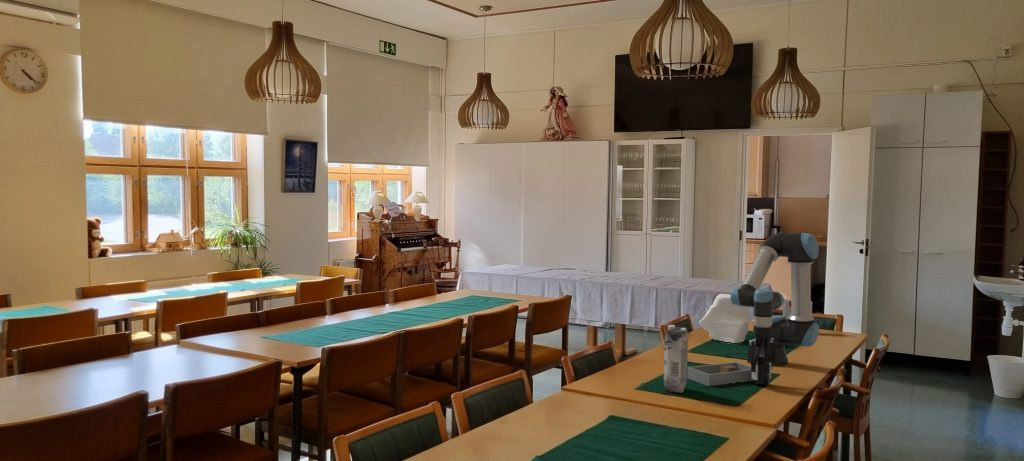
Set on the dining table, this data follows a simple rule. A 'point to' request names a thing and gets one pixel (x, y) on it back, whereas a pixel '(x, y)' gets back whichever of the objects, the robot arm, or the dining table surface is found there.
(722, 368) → the walnut cube
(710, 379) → the tote
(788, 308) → the hard drive box
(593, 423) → the dining table surface
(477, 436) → the dining table surface
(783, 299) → the robot arm
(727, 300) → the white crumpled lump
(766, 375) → the supplement bottle
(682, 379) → the juice carton
